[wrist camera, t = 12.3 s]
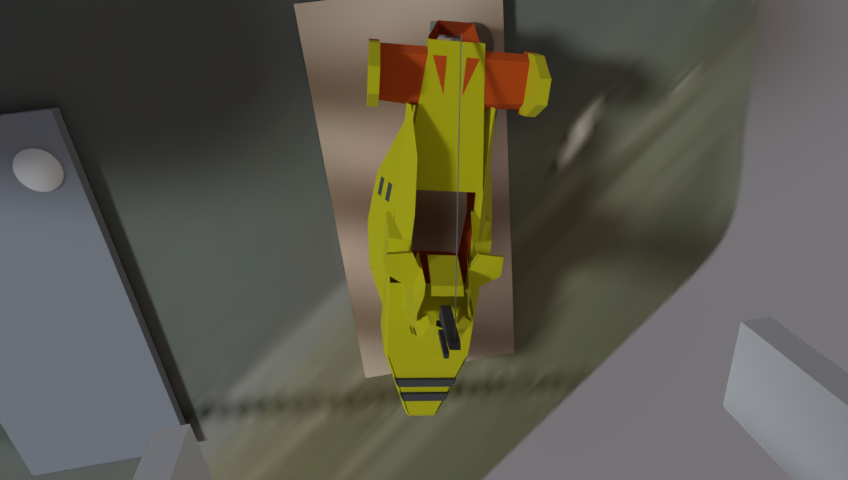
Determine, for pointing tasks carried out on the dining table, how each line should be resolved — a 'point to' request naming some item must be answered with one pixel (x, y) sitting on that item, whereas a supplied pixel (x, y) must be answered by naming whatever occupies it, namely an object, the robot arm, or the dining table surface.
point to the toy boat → (439, 171)
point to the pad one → (68, 313)
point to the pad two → (370, 142)
